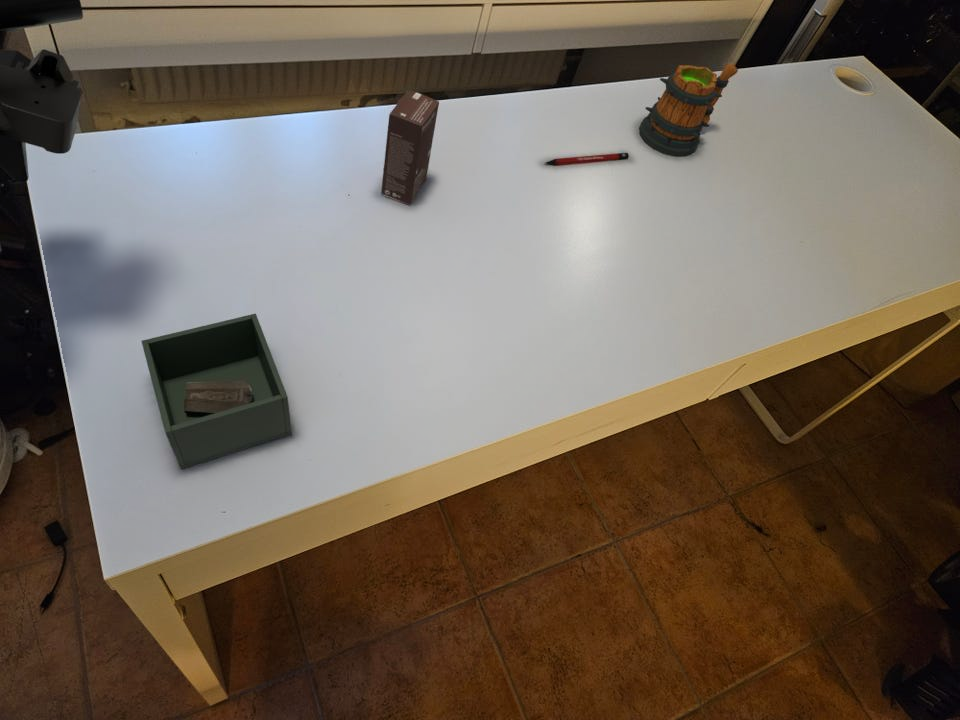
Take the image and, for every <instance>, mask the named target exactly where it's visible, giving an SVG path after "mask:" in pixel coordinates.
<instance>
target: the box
mask: <svg viewBox="0 0 960 720" xmlns="http://www.w3.org/2000/svg"><path fill="white" fill-rule="evenodd" d="M439 106H440V101H439V100H437V99H434V98H432V97H429V96H427V95H423V94H422V93H419V92H416V91H413V90H411V89H408V90H407V91H406V93H405V94H404V95H403V96H402V97H400V99H399V100H398V101H397V102H396V105H395V106H394V107H393V109H392V110H391V111H390V113H389V114H388V124H387V133H386V142H385V153H384V163H383V171H382V181H381V191H380V194H381V195H382V196H384V197H385V198H388V199H391V200H392V201H397V202H399V203H402V204H406V205H409V206H410V205H412V203H413V201H414V200H415V198H416V196H417V195H418V194H419V192H420V190H421V188H422V187H423V185H424V184H425V183H426V181H427V178H428V171H429V166H430V159H431V154H432V147H433V141H434V135H435V130H436V123H437V117H438V111H439Z"/></svg>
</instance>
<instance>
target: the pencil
mask: <svg viewBox="0 0 960 720" xmlns="http://www.w3.org/2000/svg"><path fill="white" fill-rule="evenodd" d="M629 156H630V155H629V153H628V152H619V153H609V154H608V153H605V154H595V155H594V154H593V155H584V156H569V157H560V158H553V159H551V160H548V161H546V162H545V164H547V165H550V166H566V165H576V164H577V165H578V164H588V163H597V162H598V163H599V162H600V163H601V162H611V161H612V162H613V161H623V160H628V159H629Z"/></svg>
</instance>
